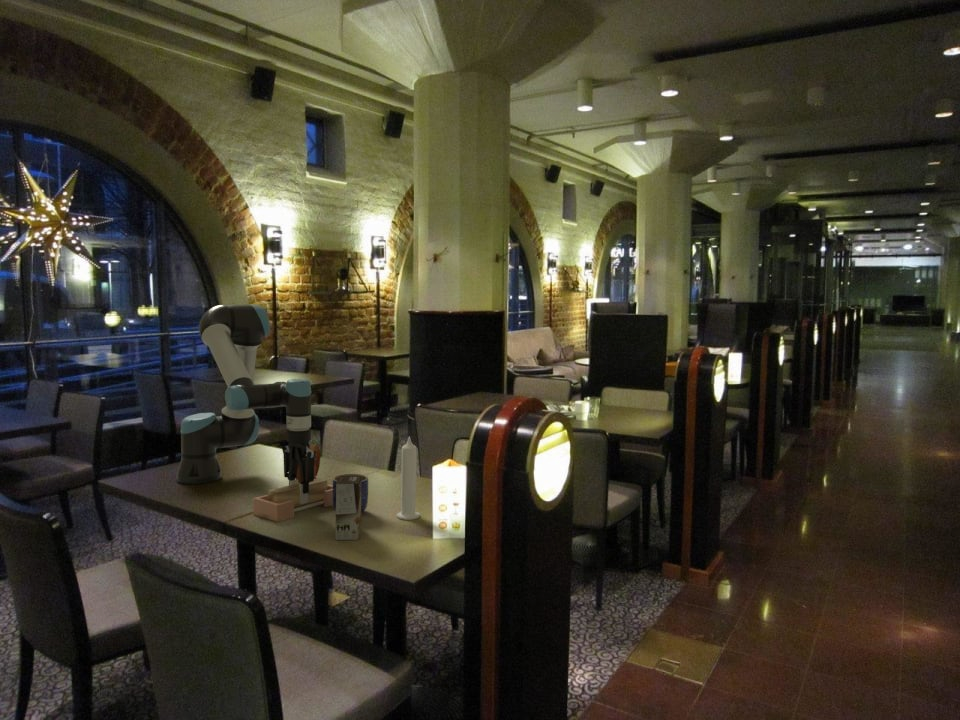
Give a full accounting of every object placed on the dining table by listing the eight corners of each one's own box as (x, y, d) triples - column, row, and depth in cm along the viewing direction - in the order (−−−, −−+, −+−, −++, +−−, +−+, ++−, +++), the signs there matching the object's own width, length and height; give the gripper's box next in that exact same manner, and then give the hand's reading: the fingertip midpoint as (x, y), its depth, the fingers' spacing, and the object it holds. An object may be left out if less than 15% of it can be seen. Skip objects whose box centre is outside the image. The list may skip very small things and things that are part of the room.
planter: (352, 520, 209) (353, 484, 208) (325, 514, 214) (325, 479, 214) (375, 511, 219) (375, 476, 218) (348, 505, 224) (348, 471, 223)
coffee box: (358, 540, 193) (359, 483, 191) (335, 540, 192) (335, 483, 191) (361, 529, 202) (361, 474, 201) (339, 529, 201) (339, 474, 200)
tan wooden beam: (268, 509, 213) (268, 490, 213) (318, 495, 229) (318, 477, 229) (276, 512, 211) (276, 492, 210) (327, 498, 227) (327, 480, 226)
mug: (310, 496, 233) (310, 452, 232) (288, 494, 235) (288, 450, 234) (328, 485, 248) (328, 443, 246) (307, 483, 249) (307, 442, 248)
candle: (410, 521, 210) (411, 439, 207) (392, 517, 213) (392, 437, 211) (424, 515, 216) (425, 436, 213) (406, 511, 219) (407, 433, 217)
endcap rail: (253, 514, 213) (253, 498, 213) (317, 496, 234) (317, 481, 233) (277, 521, 207) (277, 505, 206) (341, 502, 227) (341, 487, 227)
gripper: (271, 426, 220) (271, 499, 222) (307, 433, 210) (307, 509, 212) (290, 423, 226) (290, 494, 228) (326, 430, 216) (326, 504, 218)
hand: (298, 501), depth 220 cm, fingers closed on tan wooden beam, 4 cm apart
